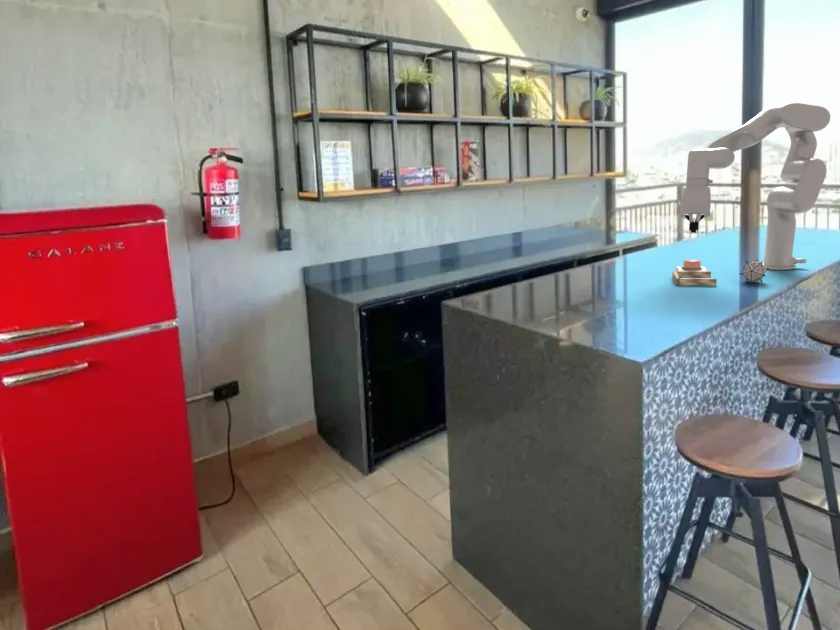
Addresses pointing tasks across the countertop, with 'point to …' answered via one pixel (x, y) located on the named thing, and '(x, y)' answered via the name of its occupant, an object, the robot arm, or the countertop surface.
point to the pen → (694, 278)
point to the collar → (680, 268)
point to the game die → (754, 271)
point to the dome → (691, 264)
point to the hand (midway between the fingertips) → (693, 232)
